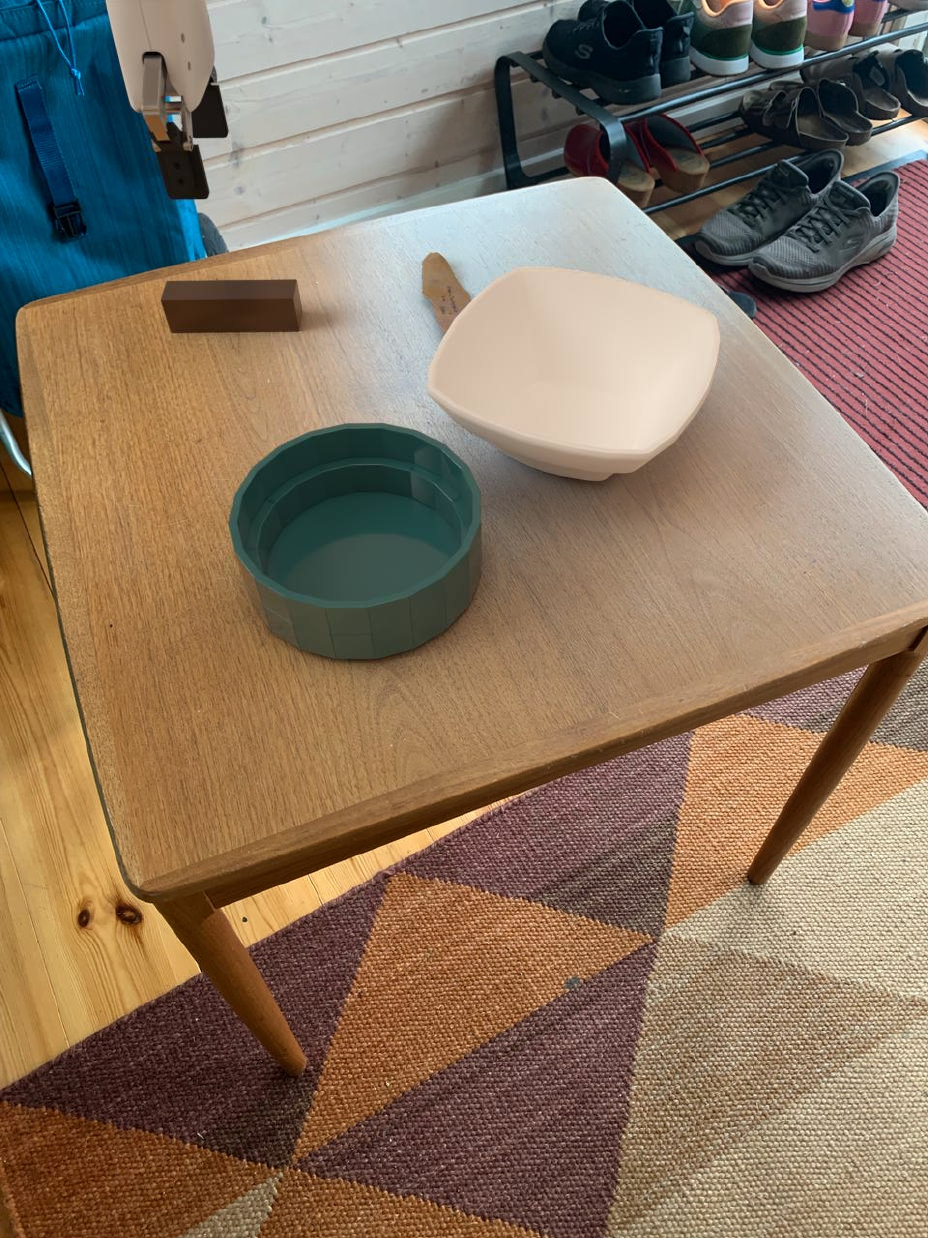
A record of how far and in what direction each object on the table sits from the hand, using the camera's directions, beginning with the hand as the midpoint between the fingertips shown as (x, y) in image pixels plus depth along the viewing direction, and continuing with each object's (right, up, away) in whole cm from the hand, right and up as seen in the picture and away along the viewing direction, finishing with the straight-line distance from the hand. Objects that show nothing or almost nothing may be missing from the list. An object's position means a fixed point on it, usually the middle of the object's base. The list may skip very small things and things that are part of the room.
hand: (200, 165), depth 75 cm
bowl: (+30, -22, +2) cm, 37 cm away
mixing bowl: (+14, -33, -6) cm, 37 cm away
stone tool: (+20, -7, +13) cm, 25 cm away
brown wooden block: (0, -9, +12) cm, 15 cm away
